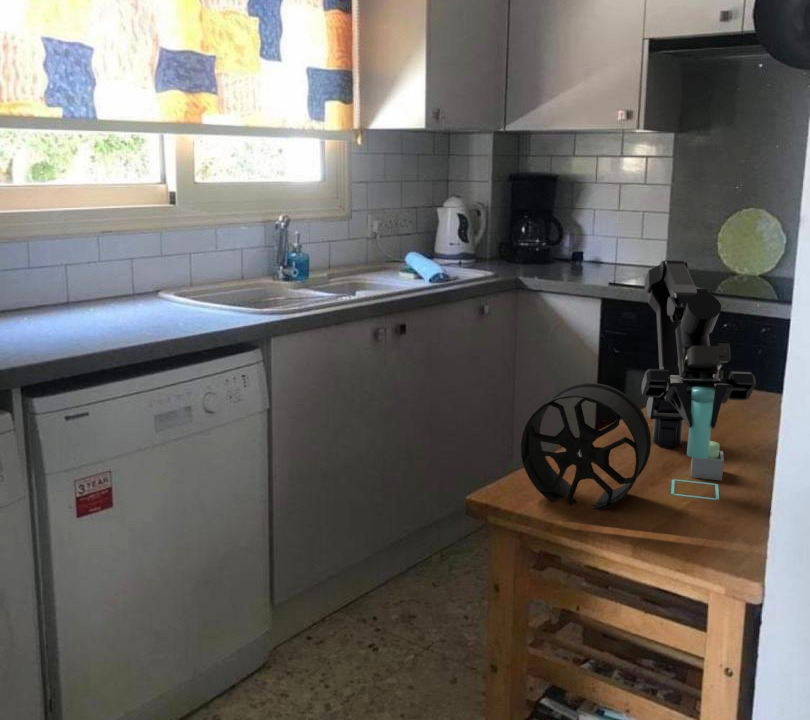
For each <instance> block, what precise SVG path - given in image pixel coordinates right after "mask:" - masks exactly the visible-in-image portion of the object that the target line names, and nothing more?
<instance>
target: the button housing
mask: <svg viewBox="0 0 810 720" xmlns="http://www.w3.org/2000/svg"><path fill="white" fill-rule="evenodd" d="M724 458H725V457H724V451H723V450H719V458H718V459H714V458H704V459H697V458H692V457H691V462H690V463H691V464H690V477H691V478H696V479H703V480H713V481H723V475H724V474H723V473H724V472H723V471H724V464H725V463H724V462H725V461H724Z"/></svg>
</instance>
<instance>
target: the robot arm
mask: <svg viewBox="0 0 810 720" xmlns="http://www.w3.org/2000/svg"><path fill="white" fill-rule="evenodd" d="M688 267H689V266H688V261H684V259H665V260H661V262H659V265H657V266H655V267H652V268H651V269H649V270H648V271H647V273H646V276H645V279H644V293H645V294H647V302H648V305H649V306H650V308H652V310H653V311H654V312H655V314H656V331H657V347H658V366H659V367H658V368H648V369H646V371H645V373H644V376H643V379H642V381H641V395H642V397H644V398H647V402H646V415H647V417H648V418H649V419H650V420H653V428H652V431H653V432H652V436H651V439H652V443H653V444H654V445H657V446H658V448H661V449H662V448H664V449H671V450H672V449H675V448H676V447H680V446H682V441H683V426H684V423H685V424H686V426H687V427H688V429H689V428H691V427H692V416H691V401H692V399H691V394H692V388H693V387H697V386H702V387H709V388H713V389H715V396H714V401H713V411H712V422H711V429H715V428H716V424H717V421H718V417H719V413H720V409H721V405H722V404H726V403H727V402H728V401H729V400H730V401H747V400H749V399H750V396H751V395H752V393H753V391H754V389H755V388H756V386H757V382H756V377H755V375H754V374H753V373H752V372H751V371H730V373H729V375H728V377H727V378H715V377H714V375H717V374H718V372H719V371H718V366H720V365H721V364H727V363H729V362H730V361H731V357H732V356H731V351H732V350H731V347H730V343H722V342H719V343H718V344H717V345H716V346H715V345H714V346H713V345H711V344H710V334H712V333H713V329H714V328H715V325H716V323H717V320H718V318H719V315H720V313H721V310H722V304H721V302H720V300H718V299H717V297H716V296H714V295H713V294H710V293H709V289H708V288H702V287H699V286H696V285H695V283H694V281H693V279H692V277H691V275H690V271H689V269H688Z"/></svg>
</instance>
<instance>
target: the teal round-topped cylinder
mask: <svg viewBox="0 0 810 720" xmlns="http://www.w3.org/2000/svg"><path fill="white" fill-rule="evenodd" d="M714 396H715V389H713V388H709V387H702V386H697V387H693V388H692V394H691V399H692V401H691V416H692V427H691V428H689V427H688V437H687V446H686V447H687V450H686V455H687V456H688V457H690V458H691V459H692V458H697V459H704V458H708V454H709V443H710V441H711V432H712V431H711V430H712V427H711V422H712V411H713V401H714Z"/></svg>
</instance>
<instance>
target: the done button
mask: <svg viewBox="0 0 810 720" xmlns="http://www.w3.org/2000/svg"><path fill="white" fill-rule="evenodd" d="M720 446H721V444H720V443H719V442H716V441H712V440H710V443H709V454H708V458H714V459H718V458H719V451H720V448H721V447H720Z"/></svg>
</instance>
